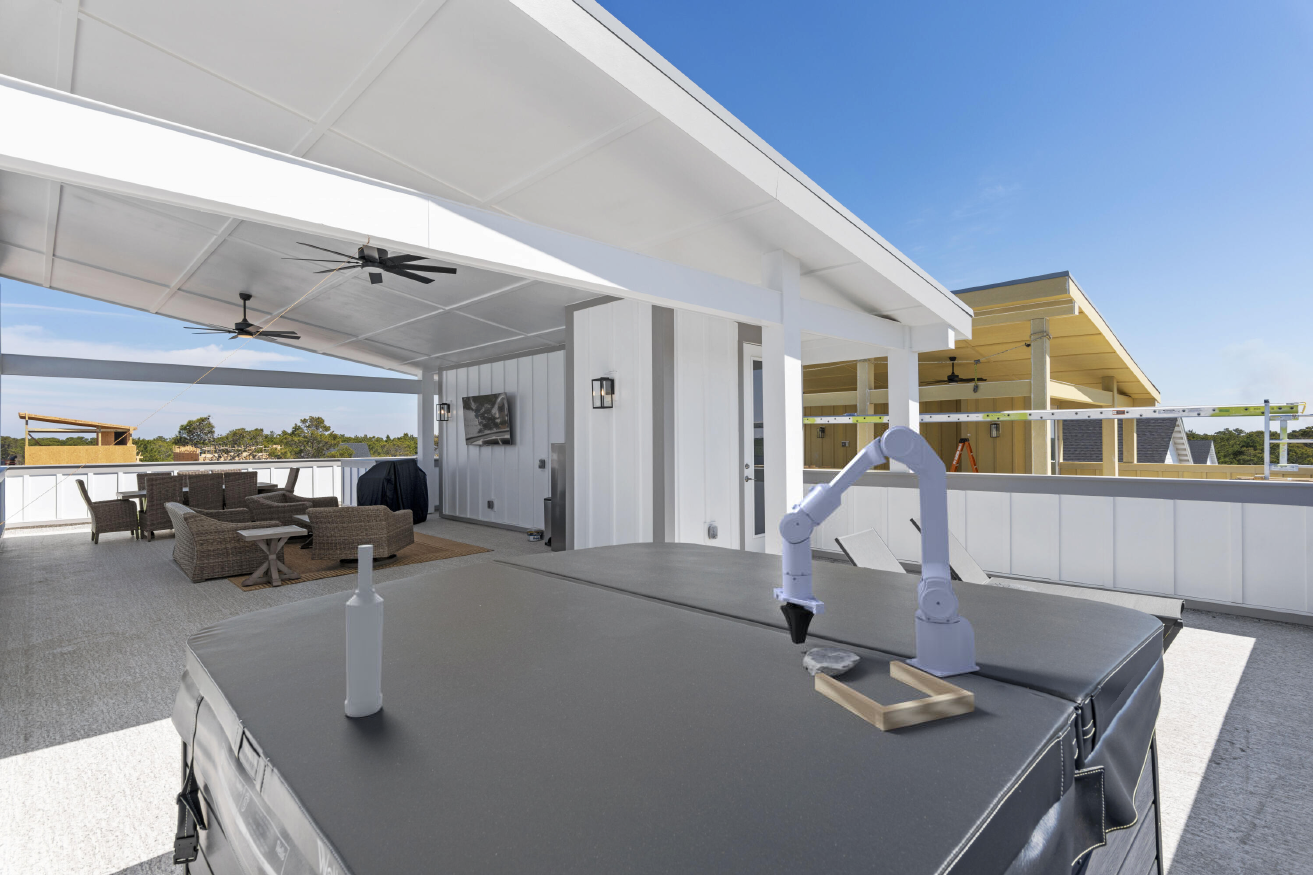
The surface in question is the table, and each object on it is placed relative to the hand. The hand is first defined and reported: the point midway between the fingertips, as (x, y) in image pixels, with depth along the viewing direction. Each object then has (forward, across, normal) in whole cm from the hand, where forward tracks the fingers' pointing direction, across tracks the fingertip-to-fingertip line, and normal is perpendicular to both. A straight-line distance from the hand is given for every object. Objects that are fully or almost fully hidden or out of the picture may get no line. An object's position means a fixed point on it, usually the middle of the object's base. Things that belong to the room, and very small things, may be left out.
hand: (798, 642), depth 113 cm
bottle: (+2, -2, -77) cm, 77 cm away
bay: (+2, +24, 0) cm, 24 cm away
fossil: (+2, +10, 0) cm, 10 cm away
